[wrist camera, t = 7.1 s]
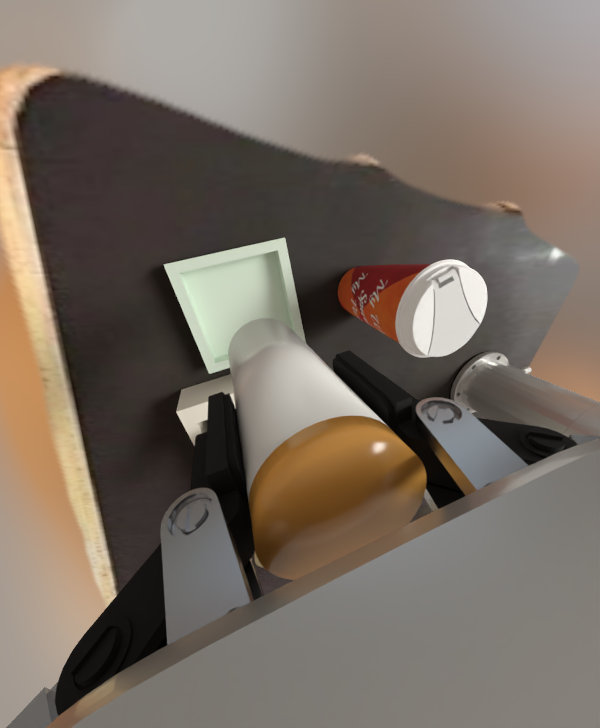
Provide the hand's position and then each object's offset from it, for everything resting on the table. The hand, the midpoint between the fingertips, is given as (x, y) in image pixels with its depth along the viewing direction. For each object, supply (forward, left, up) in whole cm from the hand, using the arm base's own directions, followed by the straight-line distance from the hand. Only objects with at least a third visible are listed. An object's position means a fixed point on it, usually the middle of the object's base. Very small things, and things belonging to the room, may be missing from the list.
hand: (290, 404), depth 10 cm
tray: (0, 0, -22) cm, 22 cm away
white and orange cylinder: (0, 0, -6) cm, 6 cm away
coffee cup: (-15, +2, -22) cm, 27 cm away
